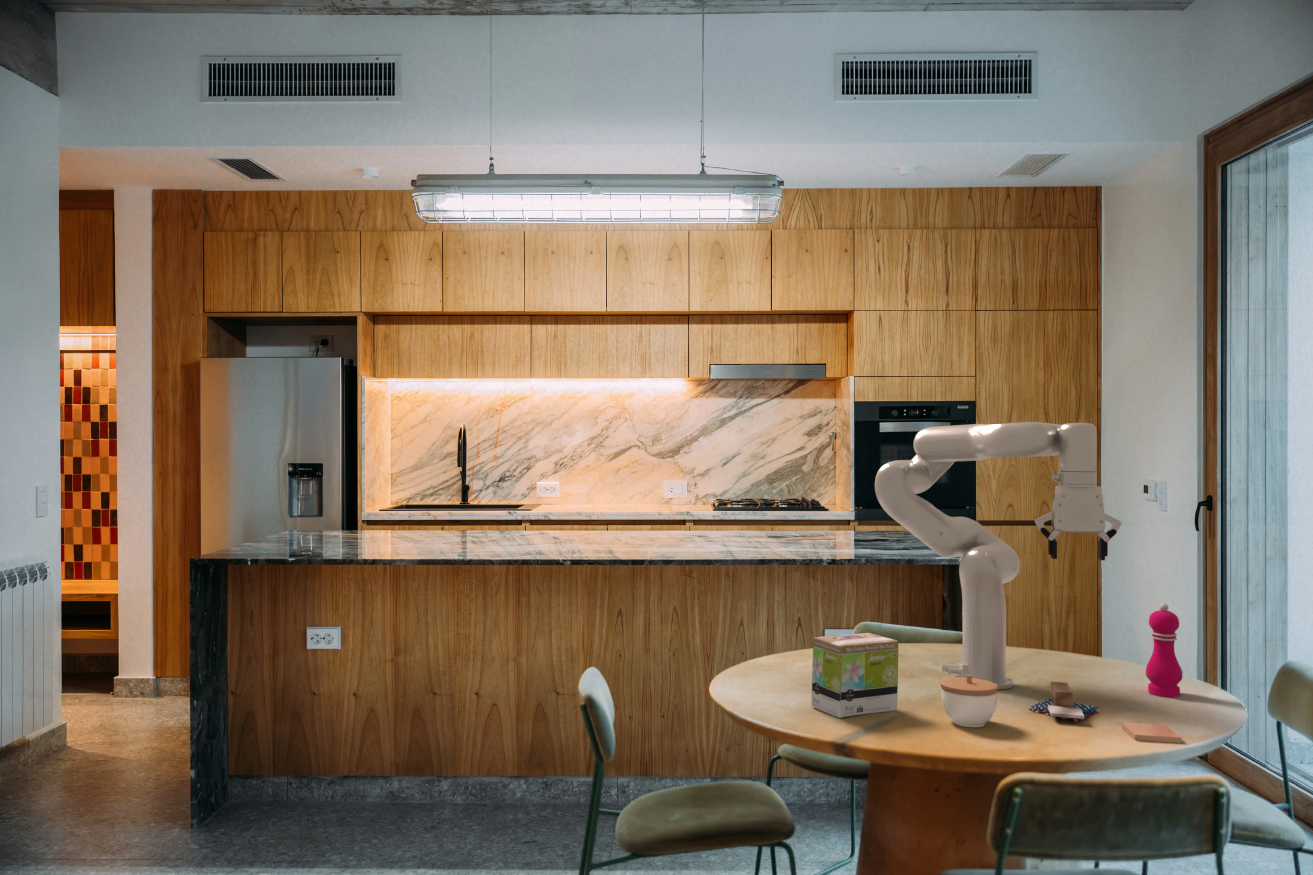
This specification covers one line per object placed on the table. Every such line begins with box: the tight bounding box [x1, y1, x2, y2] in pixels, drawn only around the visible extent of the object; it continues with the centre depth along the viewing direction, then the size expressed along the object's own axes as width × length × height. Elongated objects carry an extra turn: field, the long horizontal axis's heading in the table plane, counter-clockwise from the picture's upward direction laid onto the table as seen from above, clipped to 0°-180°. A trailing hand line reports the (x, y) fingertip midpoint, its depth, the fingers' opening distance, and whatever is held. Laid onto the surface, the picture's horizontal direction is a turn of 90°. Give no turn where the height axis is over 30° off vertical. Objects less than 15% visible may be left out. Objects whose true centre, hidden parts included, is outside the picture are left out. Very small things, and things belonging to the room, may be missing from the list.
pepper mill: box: [1145, 603, 1184, 698], centre depth 211 cm, size 7×7×20 cm
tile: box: [1121, 722, 1183, 743], centre depth 179 cm, size 8×2×8 cm
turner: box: [1048, 681, 1085, 720], centre depth 194 cm, size 6×15×4 cm, turn 163°
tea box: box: [810, 632, 900, 719], centre depth 196 cm, size 15×10×15 cm
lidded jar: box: [940, 675, 999, 728], centre depth 187 cm, size 11×11×9 cm
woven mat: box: [1028, 697, 1100, 723], centre depth 195 cm, size 10×11×2 cm
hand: (1077, 559), depth 205 cm, fingers open, 9 cm apart
